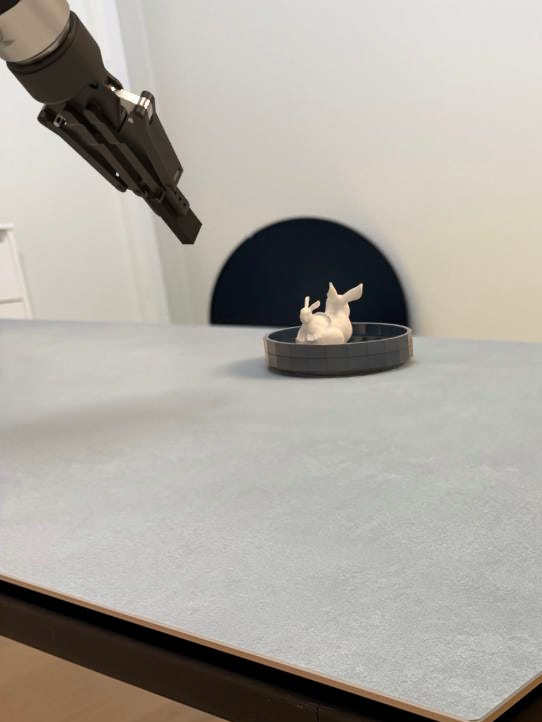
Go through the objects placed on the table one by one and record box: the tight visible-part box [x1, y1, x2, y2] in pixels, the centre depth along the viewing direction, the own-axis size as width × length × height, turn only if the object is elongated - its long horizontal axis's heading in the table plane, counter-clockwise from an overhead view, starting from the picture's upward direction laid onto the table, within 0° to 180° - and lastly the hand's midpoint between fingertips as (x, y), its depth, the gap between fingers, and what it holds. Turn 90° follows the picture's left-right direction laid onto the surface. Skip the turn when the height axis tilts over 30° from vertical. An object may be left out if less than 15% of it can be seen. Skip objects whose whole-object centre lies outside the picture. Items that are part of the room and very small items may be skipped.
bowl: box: [262, 322, 414, 377], centre depth 125 cm, size 19×19×4 cm
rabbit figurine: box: [295, 281, 363, 344], centre depth 123 cm, size 12×8×10 cm, turn 144°
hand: (192, 234), depth 102 cm, fingers closed
